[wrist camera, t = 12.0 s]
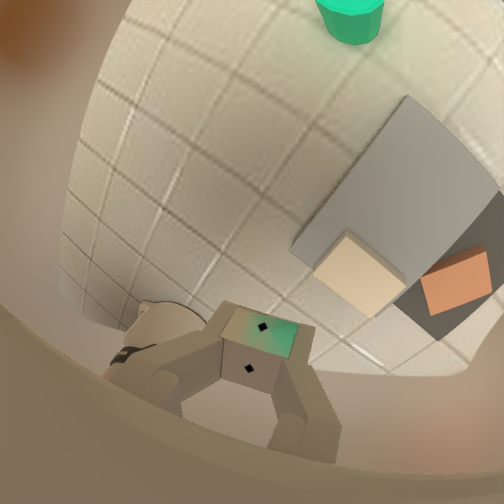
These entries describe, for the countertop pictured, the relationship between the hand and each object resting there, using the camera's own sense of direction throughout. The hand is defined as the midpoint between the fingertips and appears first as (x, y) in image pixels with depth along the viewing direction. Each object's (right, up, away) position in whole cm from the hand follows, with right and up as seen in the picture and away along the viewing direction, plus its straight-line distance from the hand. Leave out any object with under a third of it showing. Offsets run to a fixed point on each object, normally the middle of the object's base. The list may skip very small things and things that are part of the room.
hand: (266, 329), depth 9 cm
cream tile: (+12, 0, +24) cm, 26 cm away
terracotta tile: (+25, -1, +21) cm, 33 cm away
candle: (+10, +27, +14) cm, 32 cm away
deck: (+16, +7, +22) cm, 27 cm away
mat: (+27, 0, +21) cm, 34 cm away
